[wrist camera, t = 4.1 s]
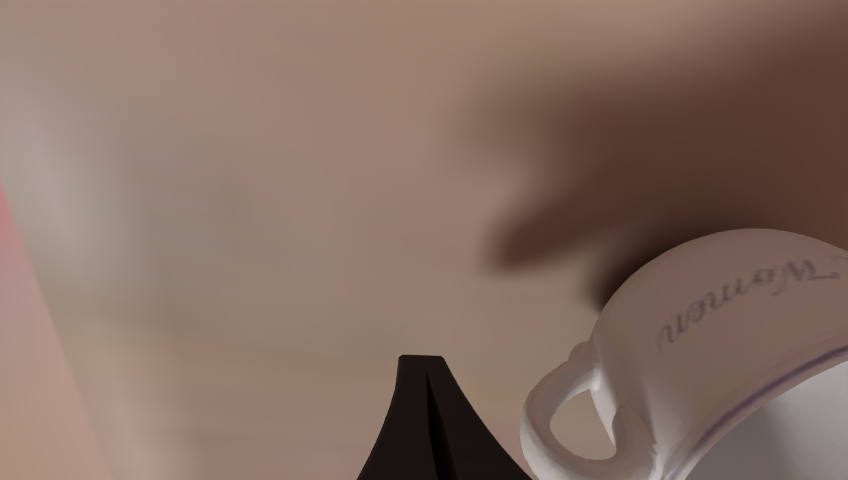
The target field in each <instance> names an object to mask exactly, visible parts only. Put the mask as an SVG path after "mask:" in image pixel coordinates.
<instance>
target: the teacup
mask: <svg viewBox="0 0 848 480" xmlns="http://www.w3.org/2000/svg"><path fill="white" fill-rule="evenodd" d="M587 389H590V392H591V396H592V399H593V402H594V404H595V407H596V409H597V412H598V414H599V416H600V418H601V420H602V422H603V424H604V427H605V429H606V431H607V433H608V435H609V437H610V439H611V440H612V442H613V444H614V446H615V448H616V454H615V455H614V457H612V458H609V459H605V460H591V459H585V458H582V457H579V456H577V455H574V454H573V453H571V452H570V451H569V450H567V449H566V448H565V447H563V446H562V445H561V444H560V443H559V442H558V441H557V440H556V439H555V438H554V436H553V434H552V432H551V430H550V420H551V418H552V416H553V415H554V414H555V412H556V411H557V410H558V409H559V407H560V406H562V405H563V404H564V403H565V402H566V401H568V400H569V399H570V398H572V397H574V396H575V395H577V394H578V393H580V392H583V391H585V390H587ZM520 439H521V445H522V450H523V453H524V456H525V458H526V460H527V462H528V464H529V465H530V467H531V469H532V470H533V472H534V474H535V475H536V476H537V477H538V478H539V479H540V480H848V251H846V250H844V249H841V248H839V247H836V246H834V245H831V244H829V243H826V242H823V241H821V240H818V239H816V238H812V237H809V236H805V235H802V234H798V233H793V232H788V231H783V230H775V229H748V228H746V229H737V230H728V231H723V232H717V233H713V234H710V235H706V236H703V237H700V238H696V239H693V240H691V241H688V242H685V243H683V244H681V245H678V246H676V247H674V248H672V249H670V250H668V251H666V252H665V253H663V254H661V255H660V256H658V257H656V258H655V259H653V260H651V261H650V262H648V263H646V264H645V265H644V266H642V267H641V268H640V269H639V270H637V271H636V272H635V273H633V274H632V275H631V276H630V277H629V278H628V279H627V280H626V281H625V282H624V283H623V284H622V285H621V287H620V288H619V289H618V290H617V291H616V292H615V293H614V294H613V296H612V297H611V298H610V300H609V301H608V302H607V304H606V305H605V307H604V308H603V310H602V312H601V314H600V316H599V318H598V320H597V322H596V324H595V326H594V328H593V331H592V334H591V337H590V340H589V341H587V342H583V343H580V344H578V345H577V346H575V347H574V348H573V350H572V351H571V353H570V357H569V360H568V361H566V362H564V363H563V364H561V365H560V366H558V367H557V368H556V369H554V370H553V371H552V372H550V373H549V374H548V375H546V376H545V377H543V378H542V380H541V381H540V382H539V383H538V384H537V385H536V386H535V387H534V389H533V390H532V391H531V392H530V393H529V395H528V397H527V399H526V402H525V404H524V406H523V408H522V413H521V419H520Z"/></svg>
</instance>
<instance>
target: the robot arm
mask: <svg viewBox="0 0 848 480" xmlns="http://www.w3.org/2000/svg"><path fill="white" fill-rule="evenodd" d="M357 480H532V479H531V478H530V477H529V476H528V475H527V474H526V473H525V472H524V471H523V470H522V469H521V468H520V467H519V465H518V464H517V463H516V462H515V461H514V460H513V459H512V458H511V457H510V456H509V454H508V453H507V452H506V451H505V450H504V449H503V448H502V446H501V445H500V444H499V443H498V441H497V440H496V439H495V438H494V436H493V435H492V434H491V433H490V431H489V430H488V429H487V427H486V426H485V425H484V423H483V422H482V421H481V419H480V418H479V416H478V415H477V413H476V412H475V410H474V409H473V407H472V406H471V404H470V403H469V401H468V400H467V398H466V397H465V395H464V394H463V392H462V390H461V389H460V387H459V385H458V384H457V382H456V380H455V378H454V377H453V375H452V373H451V371H450V369H449V367H448V366H447V364H446V362H445V360H444V358H443V357H442V356H427V355H402V356H400V357H399V360H398V368H397V377H396V385H395V391H394V394H393V398H392V401H391V404H390V407H389V410H388V413H387V416H386V418H385V421H384V424H383V426H382V429H381V431H380V434H379V436H378V438H377V440H376V443H375V445H374V447H373V449H372V451H371V453H370V455H369V457H368V459H367V461H366V463H365V465H364V467H363V469H362V471H361V473H360V475H359V476H358V478H357Z"/></svg>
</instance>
